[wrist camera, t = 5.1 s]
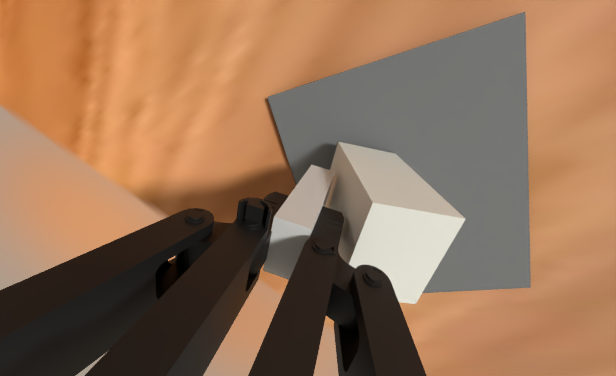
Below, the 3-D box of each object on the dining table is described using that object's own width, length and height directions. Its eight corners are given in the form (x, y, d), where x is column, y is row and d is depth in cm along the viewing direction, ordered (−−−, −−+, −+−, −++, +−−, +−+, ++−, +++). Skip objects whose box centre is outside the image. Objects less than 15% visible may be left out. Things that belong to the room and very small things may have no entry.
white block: (319, 205, 19) (336, 295, 12) (337, 140, 17) (372, 202, 10) (369, 214, 20) (415, 304, 13) (394, 152, 18) (465, 218, 10)
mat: (269, 96, 18) (267, 97, 18) (521, 13, 14) (525, 11, 13) (333, 294, 24) (332, 297, 24) (527, 283, 19) (530, 287, 19)
